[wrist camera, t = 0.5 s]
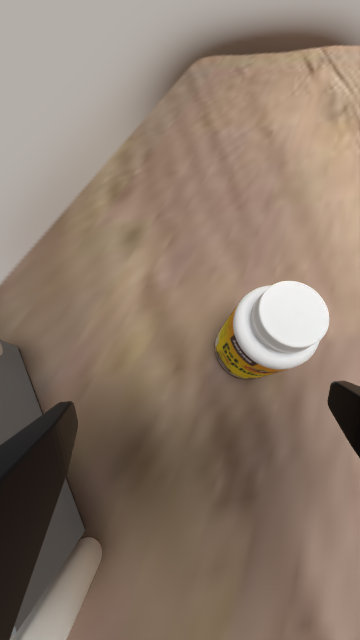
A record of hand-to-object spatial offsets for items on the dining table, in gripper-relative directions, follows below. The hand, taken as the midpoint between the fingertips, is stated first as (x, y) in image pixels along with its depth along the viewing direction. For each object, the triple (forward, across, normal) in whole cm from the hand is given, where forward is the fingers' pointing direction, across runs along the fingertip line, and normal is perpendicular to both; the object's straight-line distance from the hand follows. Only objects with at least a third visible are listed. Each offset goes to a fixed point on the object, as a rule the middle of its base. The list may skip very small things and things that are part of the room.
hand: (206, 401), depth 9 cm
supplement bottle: (+14, -6, +5) cm, 16 cm away
